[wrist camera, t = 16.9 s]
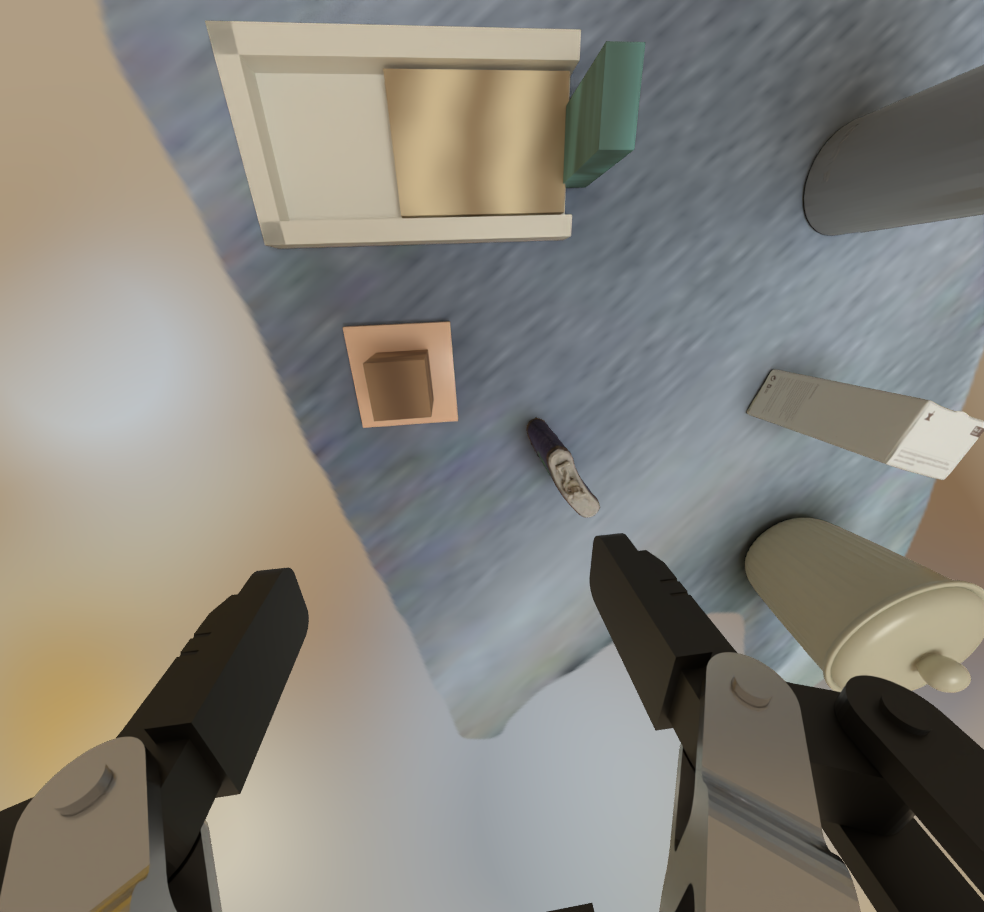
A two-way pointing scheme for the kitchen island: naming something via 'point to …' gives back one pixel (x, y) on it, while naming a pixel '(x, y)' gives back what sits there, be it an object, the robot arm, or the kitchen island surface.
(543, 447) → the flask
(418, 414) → the block
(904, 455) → the skincare box
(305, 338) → the kitchen island surface
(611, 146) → the l-shaped stand
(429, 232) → the cream tray
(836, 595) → the canister
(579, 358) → the kitchen island surface
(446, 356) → the plate
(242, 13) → the kitchen island surface
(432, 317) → the kitchen island surface
